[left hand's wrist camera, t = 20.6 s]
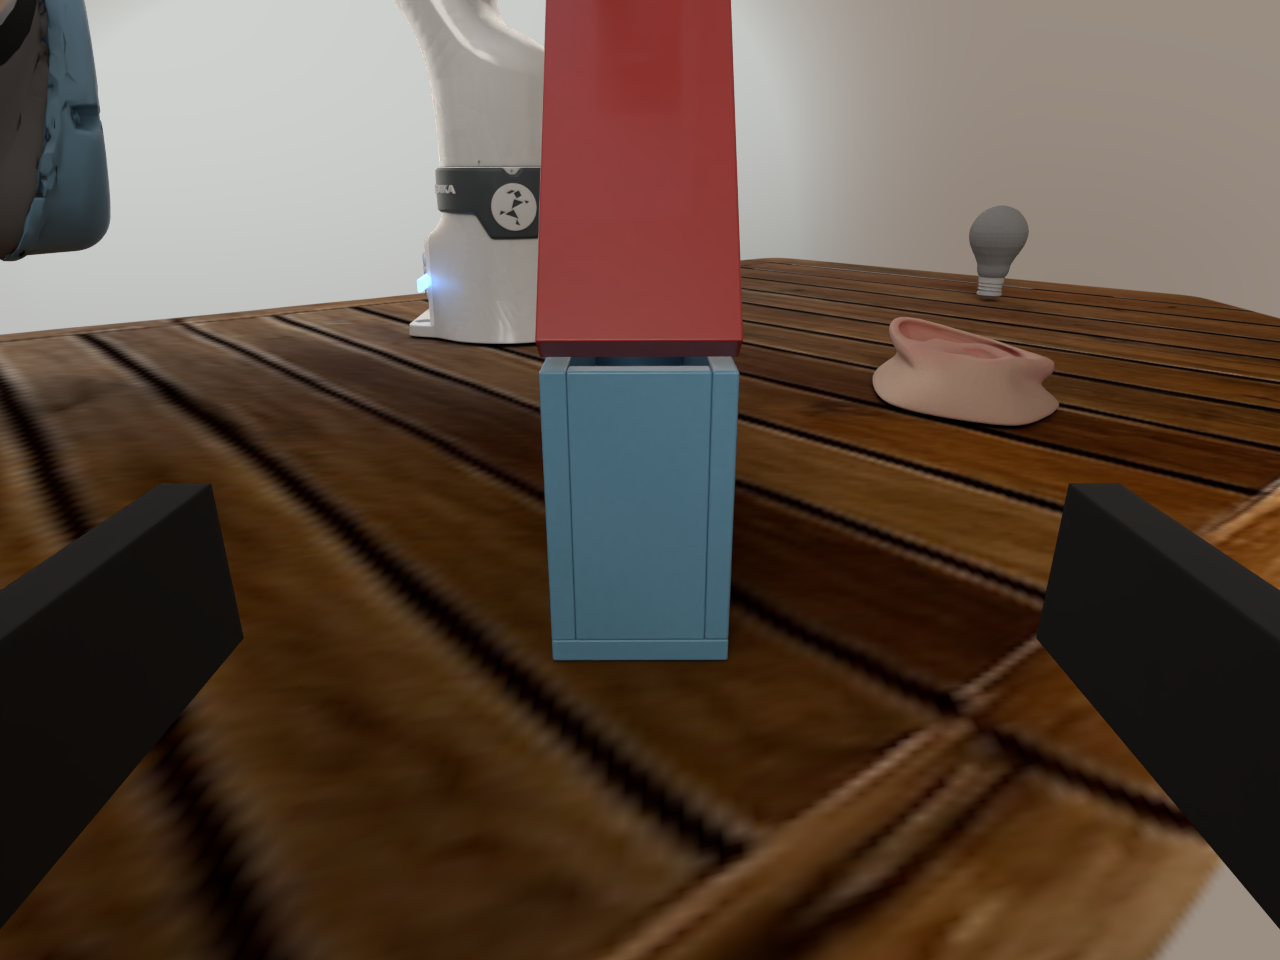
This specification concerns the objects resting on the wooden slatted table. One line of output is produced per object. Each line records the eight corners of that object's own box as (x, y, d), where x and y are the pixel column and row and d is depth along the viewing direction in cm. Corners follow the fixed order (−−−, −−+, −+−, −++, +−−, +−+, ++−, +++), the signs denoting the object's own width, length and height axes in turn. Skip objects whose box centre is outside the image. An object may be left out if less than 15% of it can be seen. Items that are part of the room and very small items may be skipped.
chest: (585, 481, 39) (579, 291, 36) (695, 480, 39) (699, 290, 36) (552, 661, 25) (538, 372, 21) (727, 660, 25) (740, 371, 21)
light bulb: (970, 302, 89) (983, 207, 85) (953, 294, 94) (966, 204, 91) (1025, 302, 88) (1041, 206, 85) (1006, 294, 94) (1020, 204, 90)
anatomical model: (1083, 363, 43) (865, 348, 47) (1069, 433, 45) (859, 413, 49) (1056, 322, 55) (883, 313, 59) (1045, 378, 56) (877, 366, 60)
